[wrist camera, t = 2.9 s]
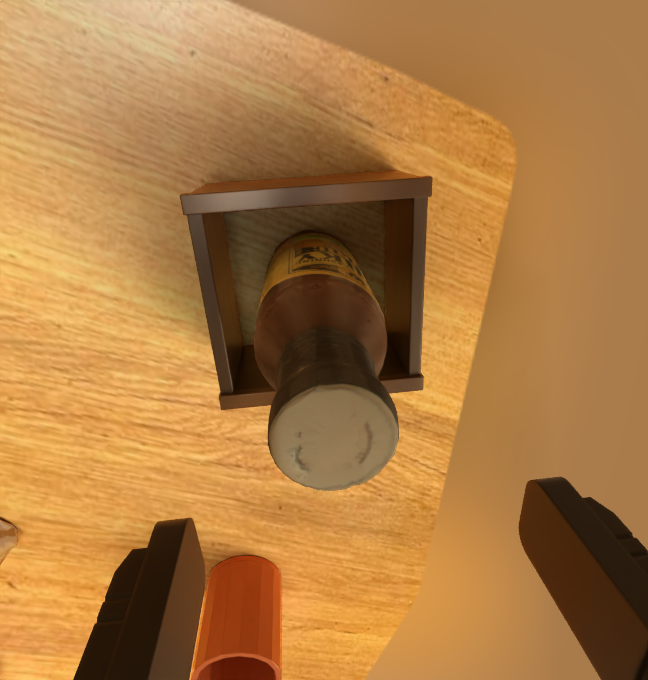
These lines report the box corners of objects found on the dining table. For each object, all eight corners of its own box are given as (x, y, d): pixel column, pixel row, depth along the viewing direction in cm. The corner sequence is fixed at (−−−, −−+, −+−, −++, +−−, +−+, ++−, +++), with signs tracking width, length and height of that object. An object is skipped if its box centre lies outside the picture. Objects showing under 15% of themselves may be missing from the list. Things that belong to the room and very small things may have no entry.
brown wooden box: (398, 168, 28) (433, 176, 22) (395, 341, 34) (423, 390, 27) (203, 182, 28) (179, 194, 21) (233, 357, 33) (221, 410, 27)
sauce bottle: (370, 260, 31) (491, 425, 13) (319, 326, 33) (363, 551, 15) (297, 206, 29) (321, 312, 11) (247, 279, 31) (197, 474, 13)
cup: (277, 551, 43) (276, 647, 34) (284, 599, 46) (285, 698, 38) (202, 560, 42) (183, 660, 34) (215, 607, 45) (200, 710, 37)
